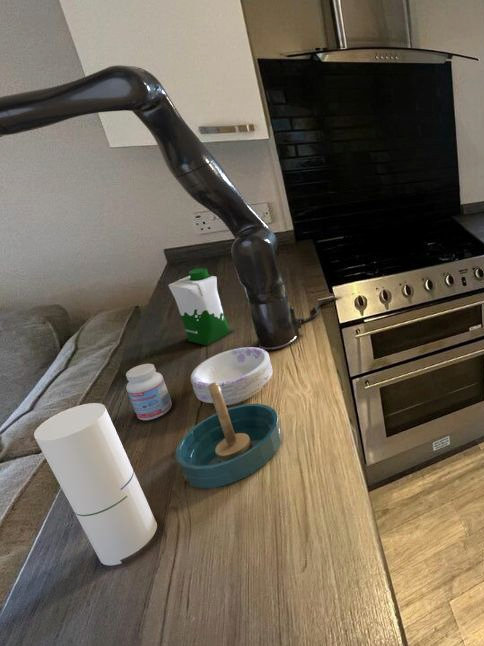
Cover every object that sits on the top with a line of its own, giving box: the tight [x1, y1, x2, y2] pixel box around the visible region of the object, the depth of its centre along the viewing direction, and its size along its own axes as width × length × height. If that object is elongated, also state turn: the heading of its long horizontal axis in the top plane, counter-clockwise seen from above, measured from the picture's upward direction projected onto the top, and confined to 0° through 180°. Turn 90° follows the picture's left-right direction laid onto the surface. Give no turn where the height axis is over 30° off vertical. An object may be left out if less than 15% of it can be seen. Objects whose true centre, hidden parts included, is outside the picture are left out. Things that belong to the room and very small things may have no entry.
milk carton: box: [167, 267, 231, 346], centre depth 122 cm, size 9×9×20 cm
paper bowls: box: [190, 346, 274, 406], centre depth 102 cm, size 15×15×8 cm
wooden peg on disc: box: [209, 382, 252, 463], centre depth 84 cm, size 6×6×17 cm
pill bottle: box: [125, 363, 173, 421], centre depth 96 cm, size 6×6×11 cm
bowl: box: [174, 403, 283, 489], centre depth 86 cm, size 16×16×6 cm
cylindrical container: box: [33, 402, 158, 566], centre depth 66 cm, size 7×7×25 cm
